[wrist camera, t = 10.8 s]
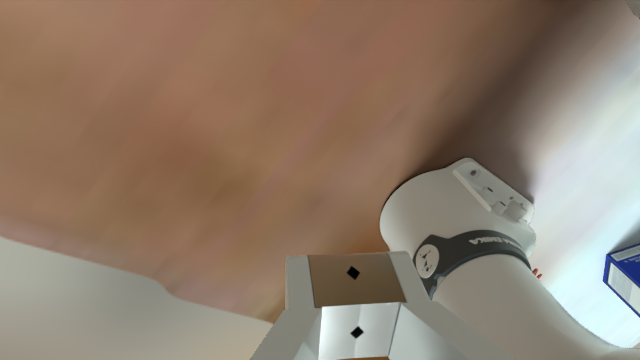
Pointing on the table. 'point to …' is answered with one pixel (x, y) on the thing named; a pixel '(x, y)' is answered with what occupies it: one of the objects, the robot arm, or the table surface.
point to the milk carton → (624, 275)
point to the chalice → (634, 6)
